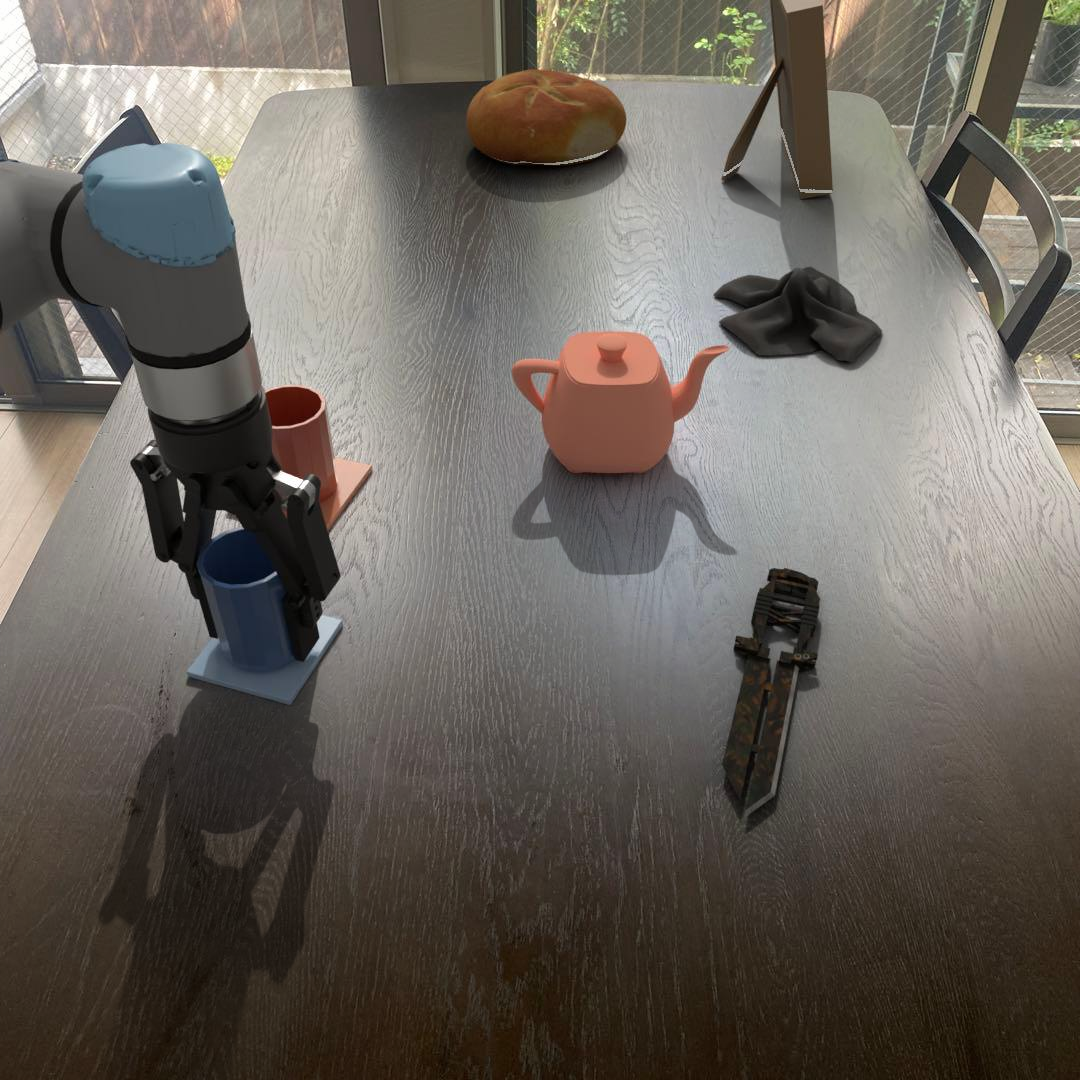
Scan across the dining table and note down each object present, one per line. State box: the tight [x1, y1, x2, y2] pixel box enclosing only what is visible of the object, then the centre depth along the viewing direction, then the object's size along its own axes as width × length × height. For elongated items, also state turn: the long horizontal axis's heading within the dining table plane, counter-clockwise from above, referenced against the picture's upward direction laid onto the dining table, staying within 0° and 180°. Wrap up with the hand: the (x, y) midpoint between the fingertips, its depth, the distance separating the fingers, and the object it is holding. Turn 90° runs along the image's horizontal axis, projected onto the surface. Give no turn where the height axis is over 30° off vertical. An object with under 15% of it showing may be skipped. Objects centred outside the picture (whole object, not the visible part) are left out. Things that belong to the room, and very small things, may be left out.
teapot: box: [511, 330, 730, 474], centre depth 103 cm, size 13×20×12 cm
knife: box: [721, 567, 821, 819], centre depth 83 cm, size 25×6×1 cm, turn 157°
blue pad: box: [186, 614, 344, 706], centre depth 86 cm, size 9×9×1 cm
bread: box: [465, 69, 627, 167], centre depth 160 cm, size 23×23×10 cm
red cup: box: [264, 384, 338, 503], centre depth 98 cm, size 7×7×9 cm
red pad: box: [282, 457, 374, 531], centre depth 101 cm, size 10×10×1 cm
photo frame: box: [720, 0, 834, 200], centre depth 149 cm, size 15×22×25 cm
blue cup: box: [197, 526, 295, 671], centre depth 83 cm, size 7×7×9 cm
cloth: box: [712, 266, 883, 363], centre depth 124 cm, size 22×19×6 cm
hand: (264, 637), depth 85 cm, fingers closed on blue cup, 7 cm apart
